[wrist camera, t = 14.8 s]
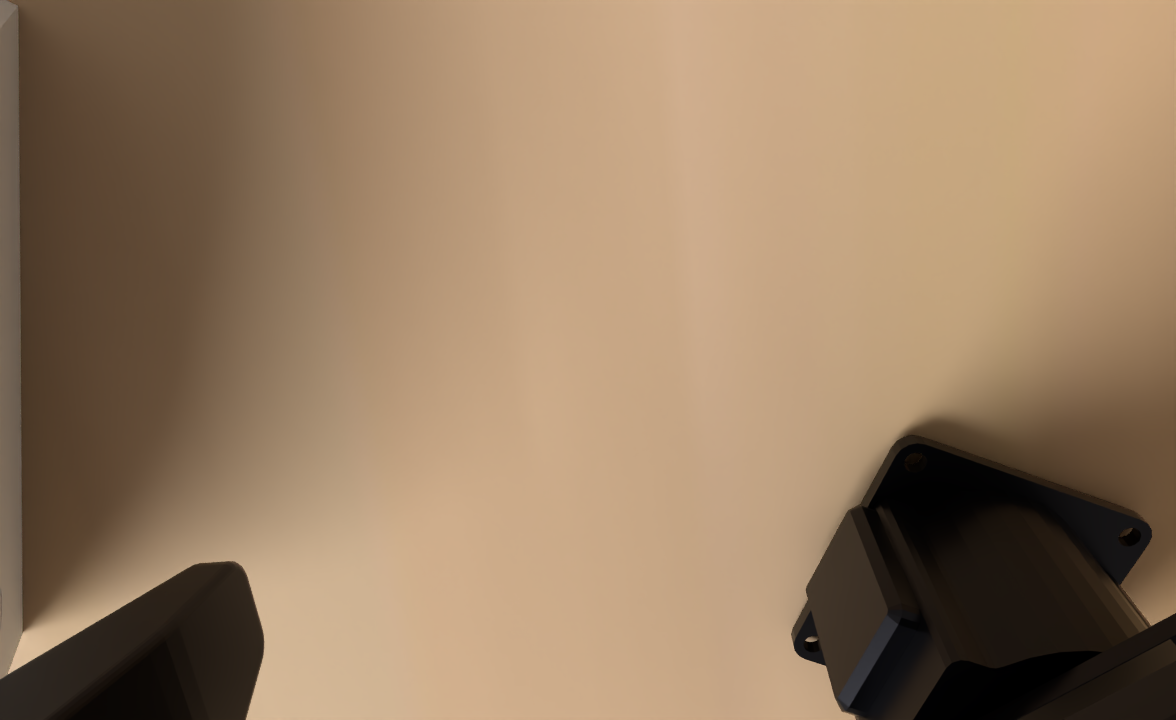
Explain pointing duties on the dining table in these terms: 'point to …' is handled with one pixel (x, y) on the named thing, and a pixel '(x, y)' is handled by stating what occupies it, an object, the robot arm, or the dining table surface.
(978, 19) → the dining table surface
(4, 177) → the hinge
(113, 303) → the dining table surface
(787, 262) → the dining table surface
